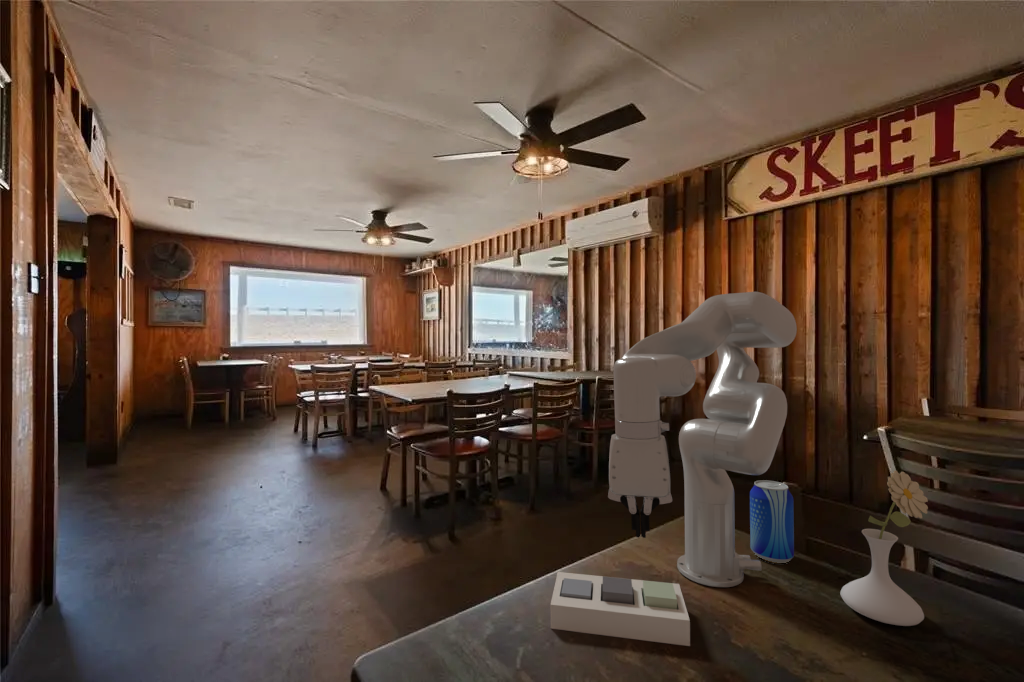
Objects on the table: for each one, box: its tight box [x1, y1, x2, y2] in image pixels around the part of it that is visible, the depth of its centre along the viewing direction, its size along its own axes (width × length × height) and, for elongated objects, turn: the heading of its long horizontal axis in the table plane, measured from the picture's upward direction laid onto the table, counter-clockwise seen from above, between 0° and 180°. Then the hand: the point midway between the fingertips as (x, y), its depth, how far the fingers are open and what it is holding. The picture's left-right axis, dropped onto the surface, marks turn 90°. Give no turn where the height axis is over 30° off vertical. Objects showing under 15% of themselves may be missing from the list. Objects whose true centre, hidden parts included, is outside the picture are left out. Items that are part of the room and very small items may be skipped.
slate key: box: [561, 578, 592, 600], centre depth 80 cm, size 5×5×3 cm
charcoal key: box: [602, 576, 633, 605], centre depth 78 cm, size 5×5×3 cm
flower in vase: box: [839, 470, 929, 627], centre depth 79 cm, size 13×11×25 cm
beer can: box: [749, 479, 795, 564], centre depth 100 cm, size 8×8×16 cm
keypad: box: [550, 571, 691, 647], centre depth 78 cm, size 22×11×4 cm, turn 78°
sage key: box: [643, 580, 677, 609], centre depth 77 cm, size 5×5×3 cm
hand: (640, 533), depth 78 cm, fingers closed
